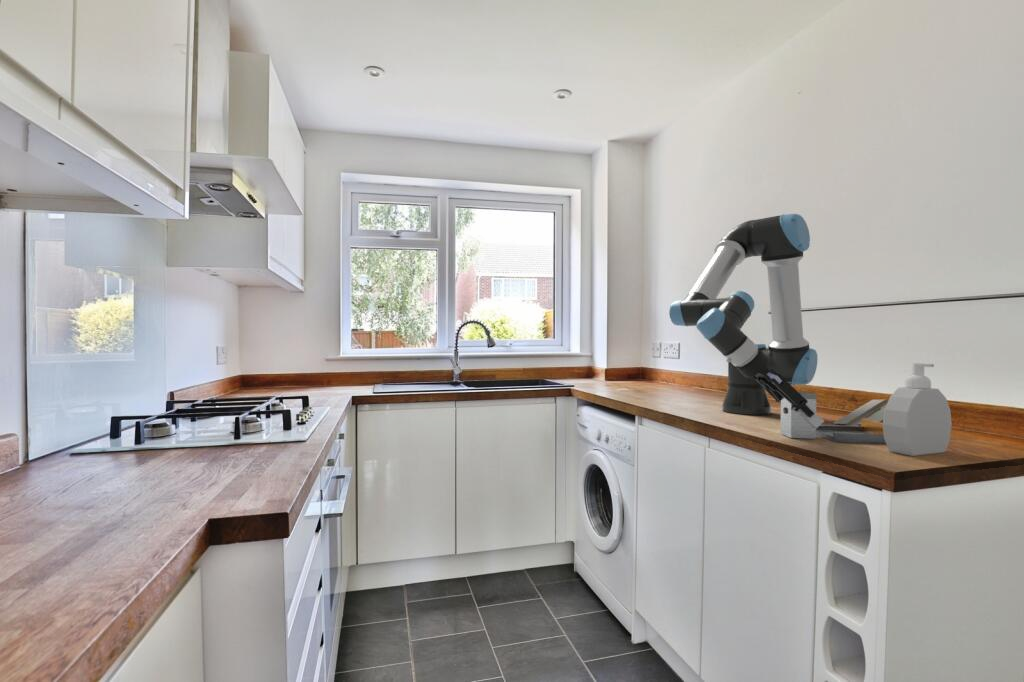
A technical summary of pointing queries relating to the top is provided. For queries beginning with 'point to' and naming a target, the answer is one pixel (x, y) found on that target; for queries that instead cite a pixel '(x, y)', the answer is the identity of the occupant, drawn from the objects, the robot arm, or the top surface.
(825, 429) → the hitch plate
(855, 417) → the gray slanted bracket
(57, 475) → the top surface
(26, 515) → the top surface
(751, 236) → the robot arm
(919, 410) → the soap bottle
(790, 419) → the lock block
